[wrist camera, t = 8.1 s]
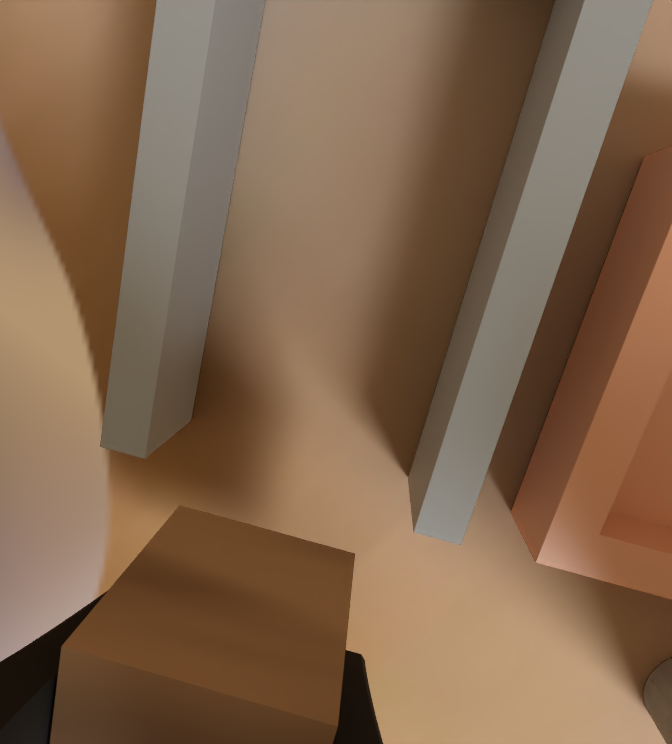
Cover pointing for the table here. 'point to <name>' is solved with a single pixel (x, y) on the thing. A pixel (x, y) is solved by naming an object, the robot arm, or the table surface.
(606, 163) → the table surface
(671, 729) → the hip flask
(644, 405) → the tray
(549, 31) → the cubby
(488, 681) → the table surface
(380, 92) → the table surface
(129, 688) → the walnut cube
